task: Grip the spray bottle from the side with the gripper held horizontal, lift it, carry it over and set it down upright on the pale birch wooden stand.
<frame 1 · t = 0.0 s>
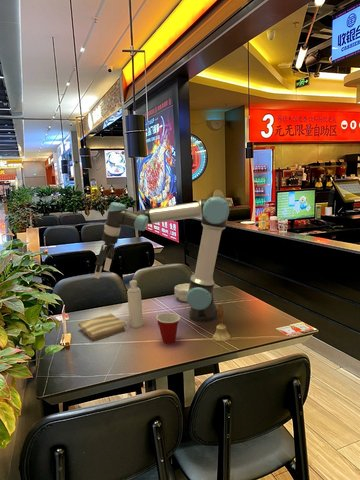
hand: (101, 274, 180), 28 cm above the table, tool tilted 20°, fingers open, 13 cm apart
paper bowls: (187, 299, 219), on the table
plastic cup: (169, 341, 164), on the table
hand bell: (221, 337, 165), on the table
spray bottle: (136, 325, 184), on the table
stand: (102, 330, 180), on the table
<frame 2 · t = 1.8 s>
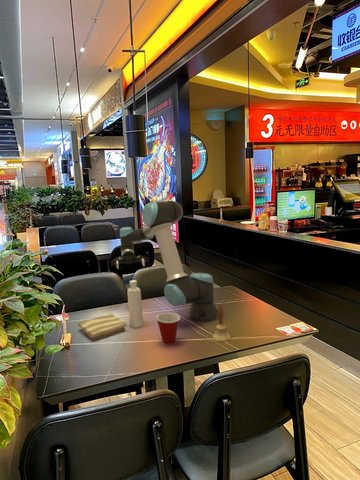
hand: (130, 264, 188), 29 cm above the table, tool horizontal, fingers open, 13 cm apart
nothing on the table moved.
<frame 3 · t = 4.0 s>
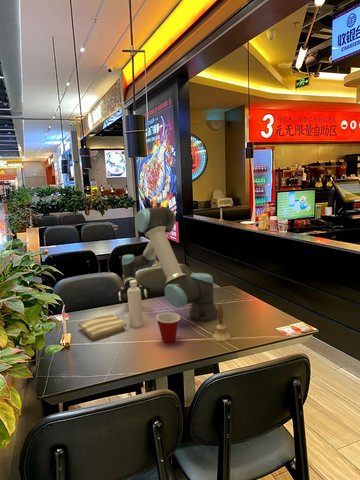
hand: (133, 296, 187), 13 cm above the table, tool horizontal, fingers open, 13 cm apart
nothing on the table moved.
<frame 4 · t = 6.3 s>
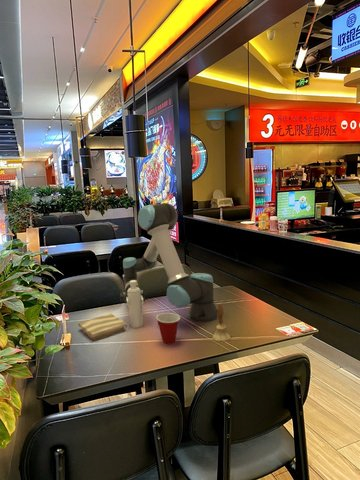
hand: (135, 303, 177), 14 cm above the table, tool horizontal, fingers closed on spray bottle, 7 cm apart
spray bottle: (136, 325, 184), on the table, touching gripper
everything else where it was.
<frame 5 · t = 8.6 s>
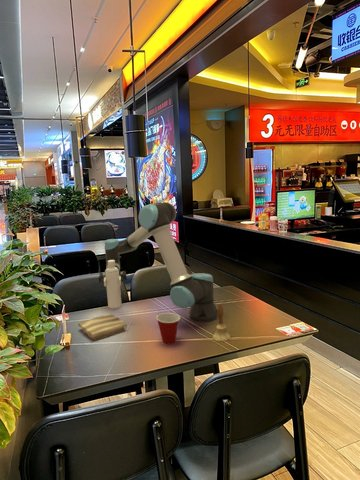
hand: (112, 282, 174), 25 cm above the table, tool horizontal, fingers closed on spray bottle, 7 cm apart
spray bottle: (114, 306, 181), point 11 cm above the table, touching gripper
everything else where it was.
when the fingers open (19 cm above the table, at t = 11.0 s): spray bottle drops 1 cm, resting on stand.
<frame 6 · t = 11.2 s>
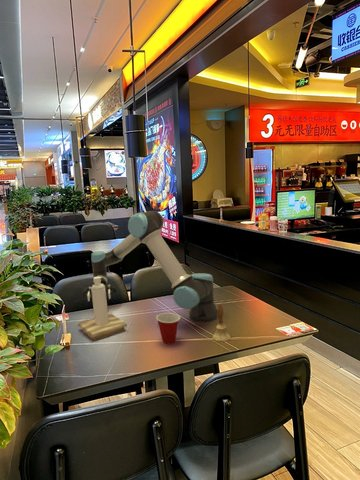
hand: (99, 297, 172), 19 cm above the table, tool horizontal, fingers open, 9 cm apart
spray bottle: (102, 323, 179), point 4 cm above the table, touching stand
everything else where it was.
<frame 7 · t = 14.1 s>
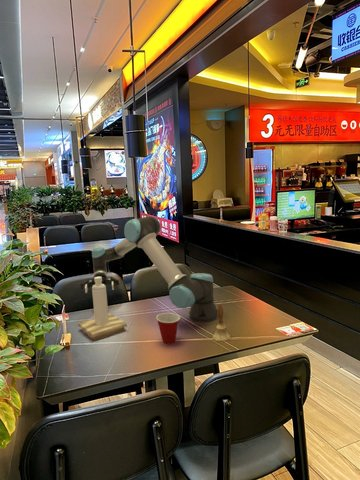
hand: (99, 288, 185), 19 cm above the table, tool horizontal, fingers open, 13 cm apart
nothing on the table moved.
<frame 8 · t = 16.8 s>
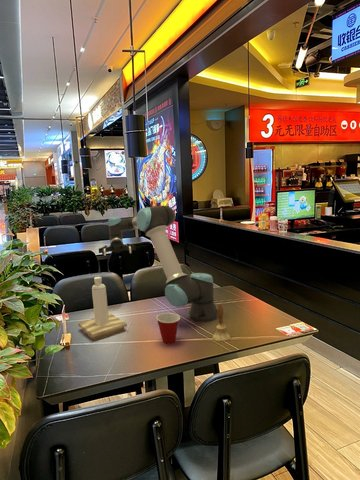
hand: (117, 252, 191), 36 cm above the table, tool horizontal, fingers open, 13 cm apart
nothing on the table moved.
at the end: spray bottle inside the target area on the stand (0.1 cm from its centre), point 3.8 cm above the stand's base; spray bottle tilted 0°; the gripper is holding nothing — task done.
